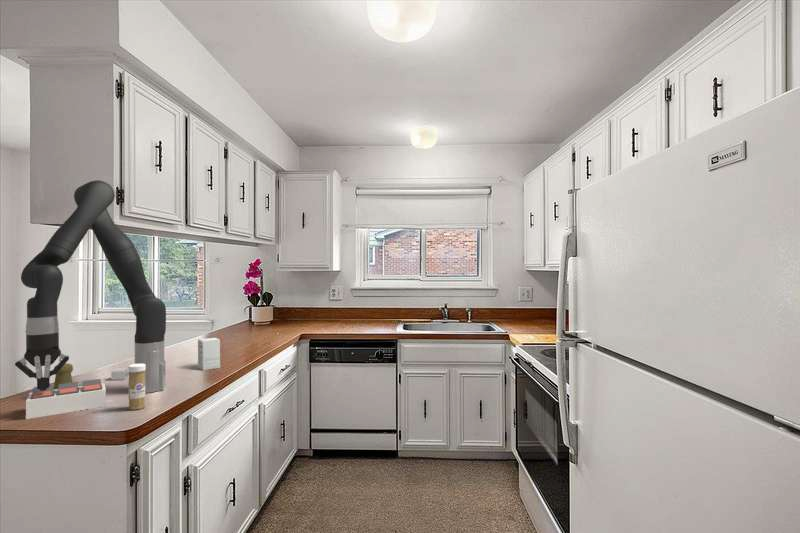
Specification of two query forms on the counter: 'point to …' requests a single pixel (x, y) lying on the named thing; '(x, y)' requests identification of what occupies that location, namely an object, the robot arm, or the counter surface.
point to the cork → (63, 375)
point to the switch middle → (68, 388)
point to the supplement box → (208, 353)
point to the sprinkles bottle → (136, 386)
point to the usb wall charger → (119, 374)
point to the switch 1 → (42, 392)
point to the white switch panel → (65, 402)
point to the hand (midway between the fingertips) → (43, 390)
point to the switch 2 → (91, 385)
